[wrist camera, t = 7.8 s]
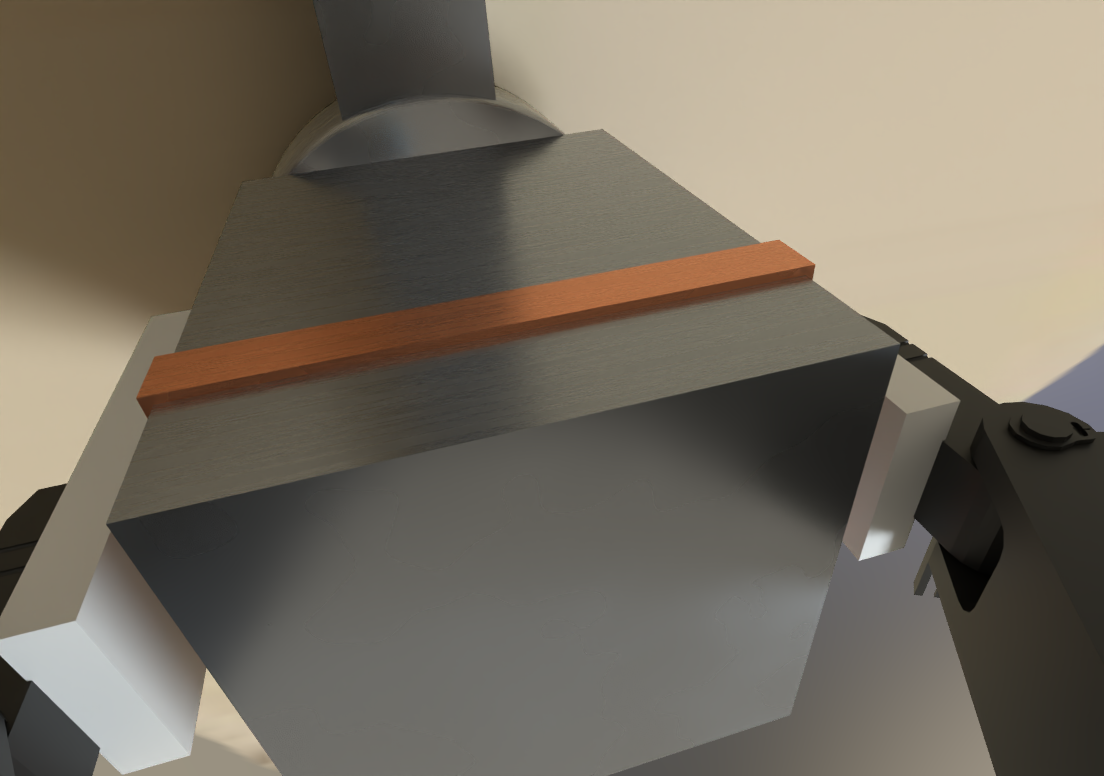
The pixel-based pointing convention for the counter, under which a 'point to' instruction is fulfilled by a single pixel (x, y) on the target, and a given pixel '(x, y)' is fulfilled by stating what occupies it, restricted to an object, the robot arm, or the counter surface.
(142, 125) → the counter surface
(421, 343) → the orange-striped grey cube
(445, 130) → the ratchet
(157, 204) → the counter surface
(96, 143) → the counter surface
